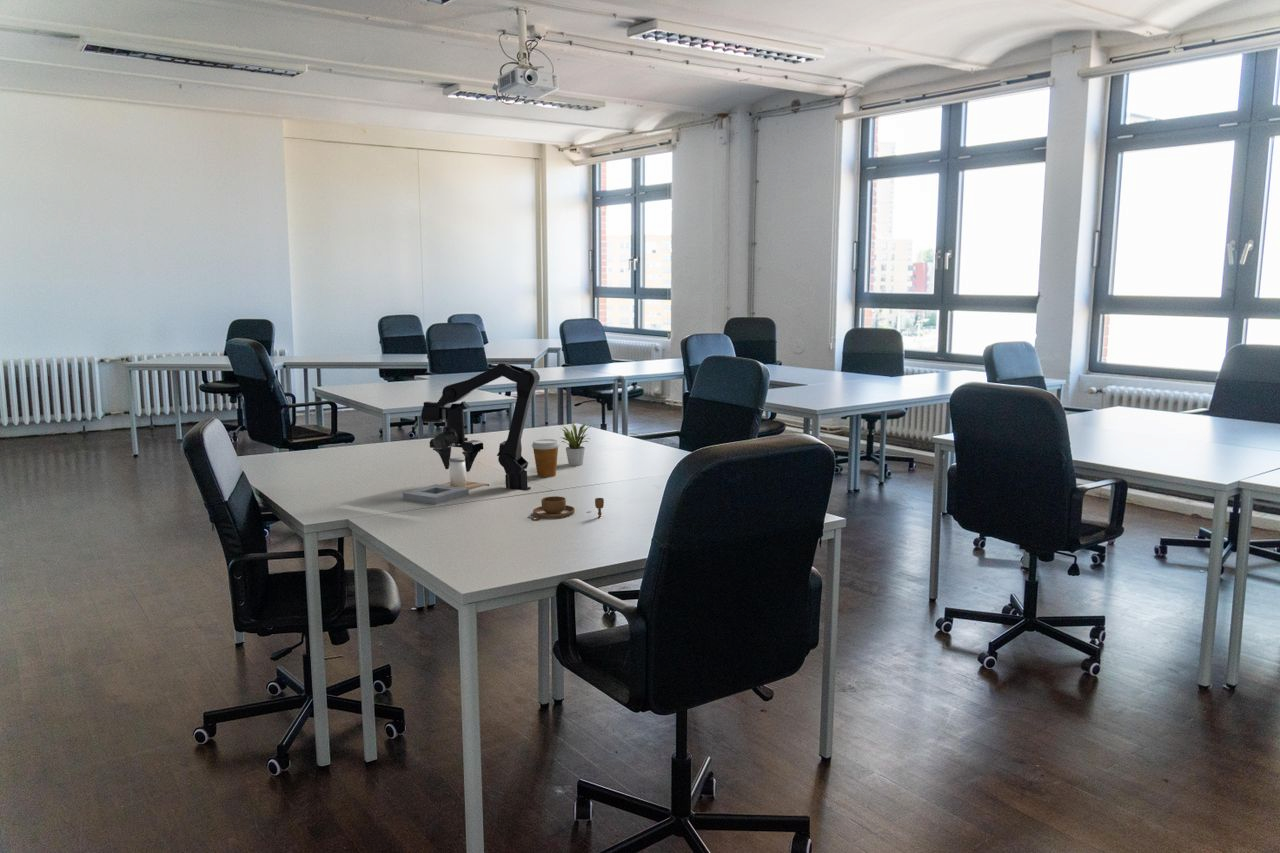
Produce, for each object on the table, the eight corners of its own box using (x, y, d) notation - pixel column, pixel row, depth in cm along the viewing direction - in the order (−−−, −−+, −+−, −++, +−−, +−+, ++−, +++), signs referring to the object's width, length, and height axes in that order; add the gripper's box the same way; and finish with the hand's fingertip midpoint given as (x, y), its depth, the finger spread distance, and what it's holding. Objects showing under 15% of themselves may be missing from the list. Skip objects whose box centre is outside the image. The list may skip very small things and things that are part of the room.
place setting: (568, 506, 271) (567, 487, 270) (608, 519, 255) (607, 498, 254) (517, 516, 260) (516, 496, 259) (556, 530, 244) (555, 508, 243)
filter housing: (468, 498, 282) (468, 488, 282) (436, 507, 270) (436, 497, 270) (436, 493, 289) (435, 484, 289) (403, 502, 278) (402, 492, 277)
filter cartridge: (469, 485, 296) (468, 458, 294) (458, 488, 291) (457, 460, 290) (458, 483, 298) (456, 456, 297) (446, 486, 294) (445, 459, 293)
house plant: (601, 460, 340) (600, 417, 338) (595, 467, 326) (594, 422, 324) (563, 460, 342) (562, 417, 339) (556, 467, 328) (555, 422, 325)
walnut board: (489, 487, 297) (489, 484, 297) (459, 495, 286) (459, 492, 285) (457, 482, 305) (457, 480, 304) (427, 491, 293) (427, 488, 293)
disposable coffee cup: (529, 474, 317) (527, 440, 315) (555, 471, 321) (553, 438, 319) (537, 479, 308) (536, 444, 307) (564, 476, 312) (563, 442, 311)
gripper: (415, 424, 290) (418, 472, 292) (459, 428, 280) (461, 477, 282) (440, 419, 299) (443, 466, 302) (483, 423, 289) (485, 471, 292)
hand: (457, 470), depth 294 cm, fingers open, 9 cm apart
